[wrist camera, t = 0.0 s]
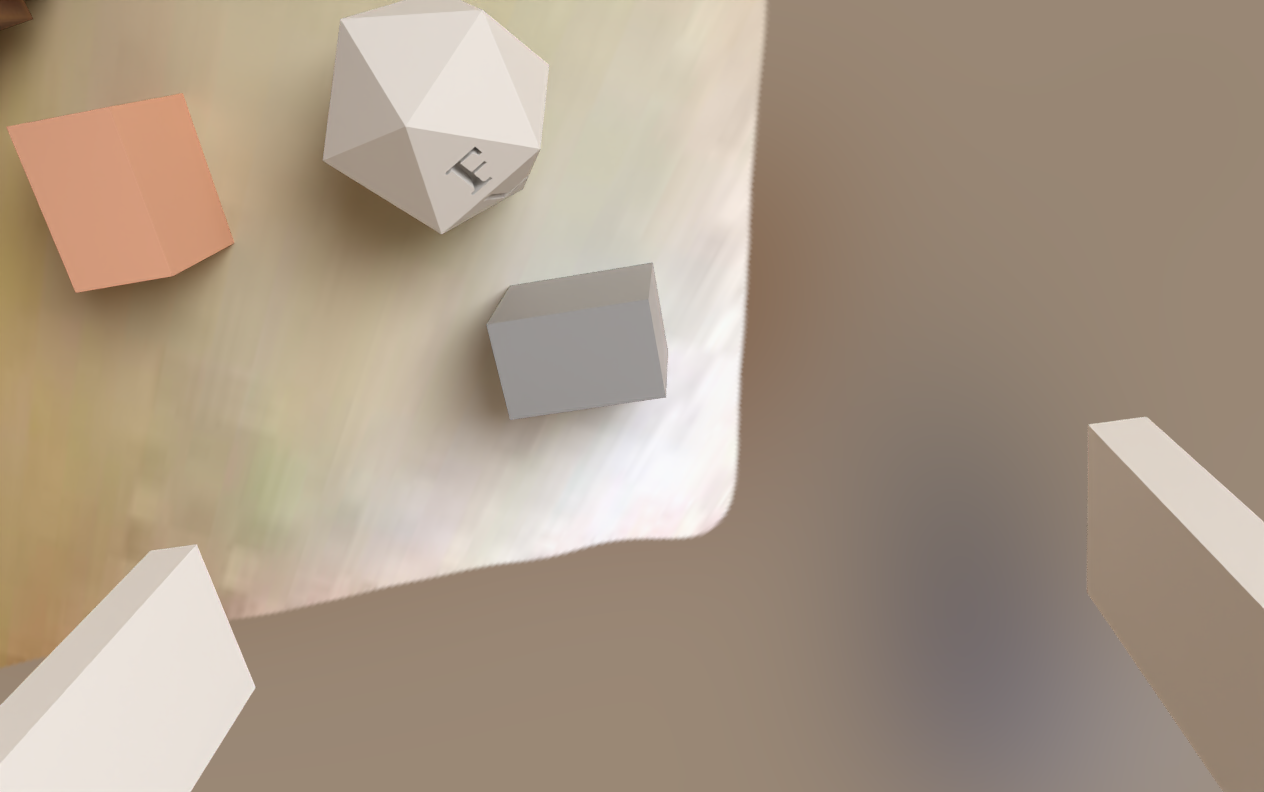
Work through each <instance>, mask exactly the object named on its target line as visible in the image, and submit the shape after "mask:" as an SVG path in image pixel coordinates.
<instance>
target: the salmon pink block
mask: <svg viewBox="0 0 1264 792" xmlns="http://www.w3.org/2000/svg"><path fill="white" fill-rule="evenodd" d="M7 130H8V132H9V135H10V137H11V139H12V142H13V144H14V147H15V149H16V151H17V154H18V156H19V159H20V161H21V163H22V166H23V168H24V170H25V173H26V175H27V178H28V180H29V182H30V185H31V187H32V190H33V192H34V194H35V197H36V199H37V201H38V204H39V206H40V209H41V211H42V213H43V216H44V218H45V221H46V223H47V225H48V228H49V230H50V233H51V235H52V237H53V240H54V242H55V244H56V247H57V249H58V252H59V254H60V256H61V259H62V261H63V264H64V266H65V268H66V271H67V273H68V275H69V278H70V280H71V283H72V285H73V287H74V290H75V292H76V293H77V292H83V291H89V290H95V289H101V288H107V287H112V286H118V285H124V284H130V283H136V282H142V281H148V280H153V279H159V278H165V277H171V276H174V275H176V274H178V273H180V272H182V271H183V270H185V269H187V268H189V267H191V266H193V265H195V264H196V263H198V262H200V261H202V260H204V259H206V258H207V257H209V256H211V255H213V254H215V253H217V252H219V251H220V250H222V249H224V248H226V247H228V246H230V245H232V244H233V243H234V241H233V238H232V235H231V232H230V229H229V226H228V223H227V220H226V218H225V215H224V212H223V209H222V206H221V203H220V200H219V197H218V194H217V191H216V189H215V186H214V183H213V180H212V177H211V174H210V171H209V168H208V165H207V162H206V160H205V157H204V154H203V151H202V148H201V145H200V142H199V139H198V136H197V133H196V131H195V128H194V125H193V122H192V119H191V116H190V113H189V110H188V107H187V104H186V102H185V99H184V96H183V93H182V94H176V95H171V96H165V97H160V98H154V99H149V100H144V101H138V102H133V103H127V104H122V105H116V106H111V107H106V108H101V109H95V110H90V111H85V112H80V113H75V114H70V115H65V116H59V117H54V118H49V119H44V120H39V121H34V122H29V123H23V124H18V125H13V126H8V127H7Z"/></svg>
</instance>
